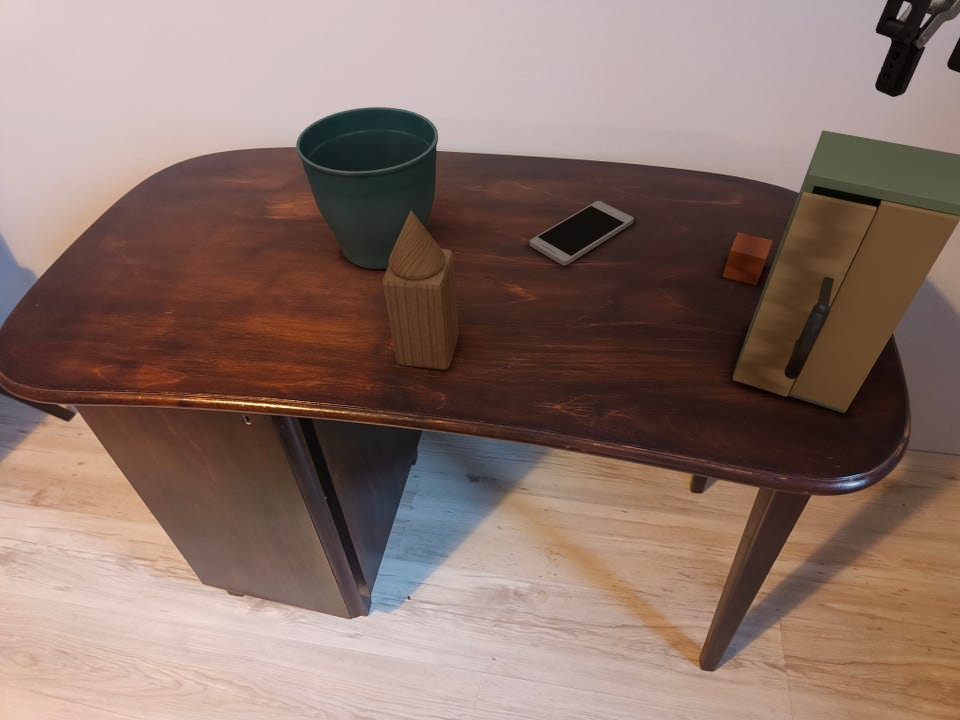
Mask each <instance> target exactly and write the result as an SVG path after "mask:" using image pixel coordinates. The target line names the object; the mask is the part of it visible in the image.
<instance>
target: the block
mask: <svg viewBox="0 0 960 720" xmlns="http://www.w3.org/2000/svg"><path fill="white" fill-rule="evenodd" d="M772 244H773V240H772V239H768V238H764V237H759V236H755V235H751V234H747V233H743V232H737V233H736V236H735V239H734V241H733V244H732V246H731V248H730V250H729V254H728V258H727V261H726V264H725V266H724V267H725V268H724V270H723V273H722V278H725V279H729V280H733V281H737V282H740V283H744V284H748V285H751V286H756V287H757V286H758V283H759V280H760V278H761V276H762V272H763V269H764V267H765V263H766V262H767V258H768V255H769V252H770V250H771V247H772Z"/></svg>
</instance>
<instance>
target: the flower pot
mask: <svg viewBox="0 0 960 720" xmlns="http://www.w3.org/2000/svg"><path fill="white" fill-rule="evenodd" d="M438 141H439V132H438V129H437V127H436V125H435V124H434V123H433V122H432V121H431V120H430V119H429V118H427V117H425V116H424V115H421V114H419V113H418V112H414V111H411V110H407V109H401V108H396V107H383V106H382V107H381V106H372V107H371V106H370V107H360V108H352V109H347V110H343V111H338V112H335V113H332V114H330V115H327V116H324V117H322V118H320V119H318V120H316V121H314V122H313V123H311V124H309V125H308V126H307V127H306V128H305V129H303V130H302V132H301V133H300V134H299V136H298V137H297V139H296V142H295V143H296V145H295V147H296V148H295V149H296V152H297V155H298V157H299V159H300V160H301V163H302V166H303V169H304V173H305V175H306V177H307V181H308V183H309V186H310V190H311V192H312V196H313V199H314V201H315V205H316V207H317V209H318V210H319V212H320V214H321V216H322V218H323V220H324V221H325V223H326V224H327V226H328V228H329V229H330V230H331V232H332V233H333V235H334V236H335V238H336V240H337V241H338V242H339V244H340V247H341V252H342V255H343V256H344V257H345V258H346V259H347V260H348V261H349V263H352V264H354V265H356V266H358V267H361V268H364V269H371V270H384V269H386V270H387V268H388V266H389V258H390V255H391V253H392V250H393V248H394V246H395V244H396V242H397V239H398V237H399V235H400V233H401V230H402V228H403V226H404V224H405V222H406V219H407V217H408V215H409V213H410V211H411V210H412V212H413V213H414V214H415V216H416V217H417V218H418V220H419V221H420V222H421V223H422V225H423V226H424V227H425V229H426V230H427V225H428V221H429V219H430V215H431V213H432V209H433V205H434V200H435V193H436V175H437V168H436V167H437V162H436V161H437V145H438Z"/></svg>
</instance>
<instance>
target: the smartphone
mask: <svg viewBox="0 0 960 720" xmlns="http://www.w3.org/2000/svg"><path fill="white" fill-rule="evenodd" d="M633 223H634V217H633V216H632V215H630V214H627V213H625V212H624V211H621V210H620V209H618V208H615V207H613V206H611V205H609V204H608V203H605V202H603V201H601V200H596V201H594V202H592V203H591V204H589V205H588V206H586V207H584V208H582V209H580V210H578V211H577V212H575V213H573V214H572V215H569V216H568V217H566V218H565V219H563V220H562V221H559V223H556V224H554V225H553V226H551V227H549V228H548V229H546V230H544V231H543V232H541V233H539V234H537V235H536V236H534V237H532V238H530V240H529V247H531V248H533V249H534V250H536V251H538V252H539V253H541V254H543V255H545V256H546V257H548V258H550V259H551V260H553V261H555V262H556V263H558V264H559V265H562V266H568V265H570V264H571V263H573V262H574V261H576V260H577V259H578V258H580V257H582V256H585V254H587V253H589V252H590V251H592V250H593V249H595V248H596V247H598V246H600V245H601V244H603V243H604V242H606V241H608V240H609V239H610V238H612V237H614V236H616V235H617V234H618V233H620V232H622V231H624V230H625V229H626V228H628V227H630V226H632V225H633Z"/></svg>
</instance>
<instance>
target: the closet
mask: <svg viewBox="0 0 960 720" xmlns="http://www.w3.org/2000/svg"><path fill="white" fill-rule="evenodd" d="M803 192H807V193H812V194H817V195H822V196H826V197H831V198H836V199H841V200H845V201H850V202H855V203H860V204H864V205H869V206H874V207H877V209H876V212H875V214H874V216H873V218H872V220H871V222H870V224H869V227H868V229H867V231H866V233H865V235H864V237H863V239H862V241H861V243H860V245H859V247H858V249H857V252H856V254H855V256H854V258H853V260H852V262H851V264H850V266H849V268H848V270H847V272H846V274H845V277H844V279H843V281H842V283H841V285H840V287H839V289H838V291H837V293H836V295H835V297H834V299H833V302H832V304H831V306H830V309H831V310H830V313H829V315H828V318H827V320H826V322H825V324H824V326H823V328H822V330H821V332H820V334H819V336H818V338H817V340H816V342H815V344H814V346H813V349H812V351H811V353H810V355H809V357H808V359H807V361H806V363H805V365H804V367H803V369H802V371H801V373H800V375H799V377H798V378H796V379H795V381H794V383H793V385H792V387H791V389H790V391H789V393H788V395H787V397H791V398H794V399H798V400H801V401H804V402H807V403H810V404H813V405H816V406H819V407H823V408H825V409H829V410H832V411H836V412H838V413H841V414H845V413H846V412H847V411H848V409H849V407H850V406H851V404H852V402H853V401H854V399H855V397H856V395H857V394H858V392H859V390H860V389H861V387H862V386H863V384H864V383H865V380H866V379H867V377H868V376H869V373H870V372H871V370H872V368H873V367H874V365H875V364H876V362H877V361H878V358H879V357H880V355H881V354H882V352H883V351H884V348H885V347H886V346H887V344H888V342H889V341H890V338H891V337H892V335H893V334H894V332H895V330H896V328H897V327H898V325H899V323H900V322H901V320H902V318H903V317H904V315H905V313H906V312H907V309H908V308H909V307H910V305H911V303H912V302H913V300H914V298H915V297H916V295H917V293H919V290H920V288H921V286H922V285H923V283H924V281H925V280H926V278H927V277H928V275H929V273H930V272H931V270H932V268H933V266H934V265H935V263H936V262H937V260H938V259H939V256H940V254H941V253H942V251H943V250H944V248H945V246H946V245H947V243H948V241H949V239H950V238H951V236H952V234H953V233H954V231H955V229H956V228H957V226H958V225H959V223H960V154H959V153H953V152H948V151H944V150H943V151H942V150H936V149H931V148H924V147H919V146H914V145H909V144H902V143H897V142H891V141H885V140H880V139H874V138H869V137H863V136H858V135H853V134H852V135H851V134H846V133H841V132H835V131H831V130H830V131H829V130H824V129H823V130H822V131H821V132H820V136H819V138H818V141H817V144H816V147H815V149H814V152H813V154H812V157H811V160H810V163H809V166H808V167H807V170H806V173H805V175H804V179H803V181H802V184H801V187H800V189H799V192H798V195H797V196H796V197H797V198H796V200H795V203H794V206H793V207H792V210H791V214H790V216H789V218H788V220H787V221H788V222H787V224H786V227H785V230H784V233H783V235H782V237H781V241H780V244H779V246H778V249H777V251H776V253H775V257H774V259H773V262H772V265H771V267H770V270H769V272H768V275H767V278H766V280H765V284H764V286H763V289H762V292H761V295H760V297H759V300H758V303H757V306H756V308H755V310H754V313H753V316H752V318H751V320H750V324H749V327H748V330H747V332H746V335H745V338H744V341H743V344H742V347H741V350H740V353H739V356H738V359H737V362H736V364H735V367H734V371H733V374H732V377H731V378H732V379H733V377H734V375H735V372H736V369H737V367H738V364H739V361H740V359H741V356H742V353H743V351H744V348H745V345H746V343H747V340H748V337H749V335H750V332H751V329H752V327H753V324H754V321H755V319H756V316H757V314H758V311H759V308H760V306H761V303H762V300H763V298H764V295H765V292H766V290H767V287H768V284H769V282H770V279H771V276H772V274H773V271H774V268H775V266H776V263H777V260H778V258H779V255H780V252H781V250H782V247H783V244H784V242H785V239H786V236H787V234H788V231H789V229H790V226H791V223H792V221H793V218H794V215H795V213H796V210H797V207H798V205H799V202H800V199H801V197H802V194H803Z"/></svg>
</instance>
